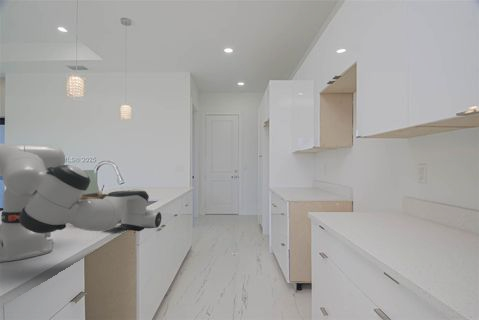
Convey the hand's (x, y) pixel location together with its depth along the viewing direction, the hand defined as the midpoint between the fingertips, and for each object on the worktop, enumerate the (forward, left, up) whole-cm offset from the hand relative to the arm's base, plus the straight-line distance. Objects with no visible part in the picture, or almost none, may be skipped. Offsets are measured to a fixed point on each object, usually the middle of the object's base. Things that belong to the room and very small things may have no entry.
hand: (109, 215), depth 129 cm
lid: (+14, +7, +17) cm, 23 cm away
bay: (+10, +5, -5) cm, 12 cm away
